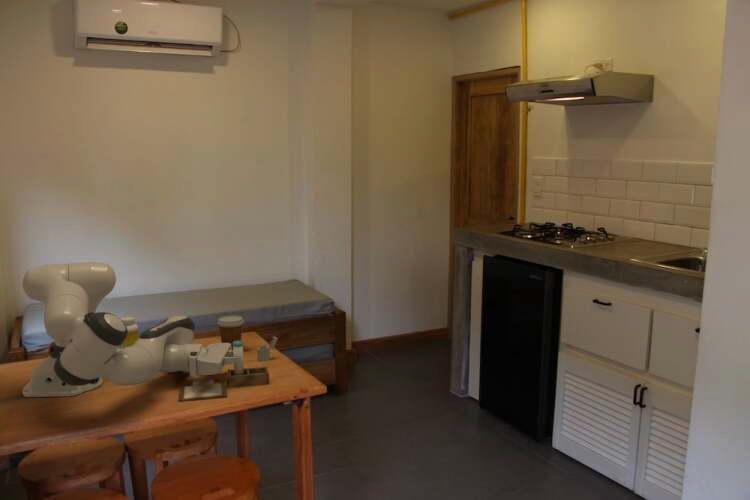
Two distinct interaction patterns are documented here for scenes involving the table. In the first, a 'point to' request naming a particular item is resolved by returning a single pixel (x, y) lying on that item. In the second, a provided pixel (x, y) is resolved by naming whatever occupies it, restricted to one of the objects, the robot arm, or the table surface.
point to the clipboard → (202, 390)
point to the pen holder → (249, 377)
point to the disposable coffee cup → (230, 329)
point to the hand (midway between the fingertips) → (241, 357)
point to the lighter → (265, 350)
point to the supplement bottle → (130, 332)
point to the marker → (239, 352)
